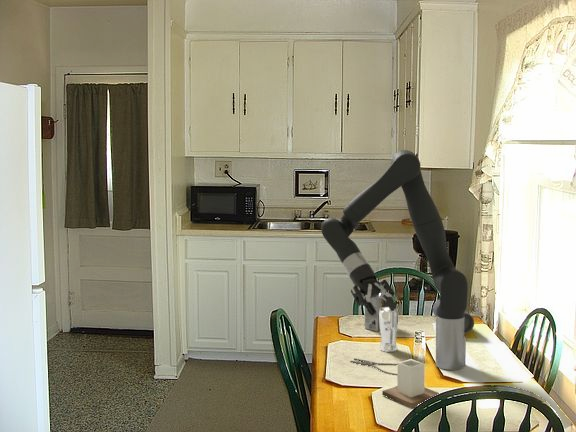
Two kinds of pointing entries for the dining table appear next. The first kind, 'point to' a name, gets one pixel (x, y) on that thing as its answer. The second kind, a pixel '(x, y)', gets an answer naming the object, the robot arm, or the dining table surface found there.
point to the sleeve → (411, 378)
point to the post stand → (408, 400)
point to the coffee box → (373, 321)
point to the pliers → (373, 365)
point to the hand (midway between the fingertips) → (384, 311)
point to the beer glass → (388, 328)
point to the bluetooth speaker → (467, 318)
